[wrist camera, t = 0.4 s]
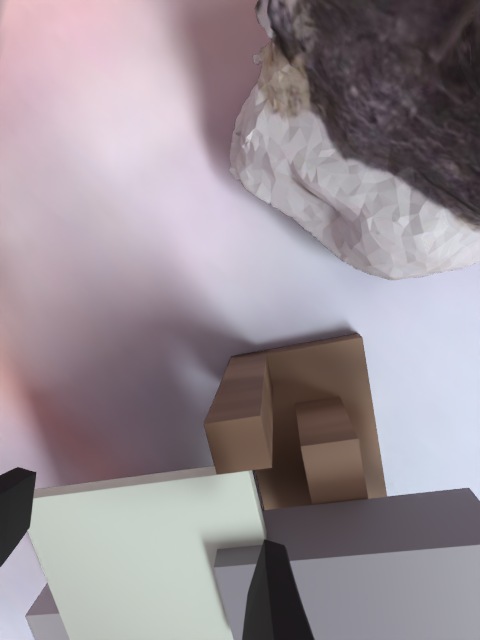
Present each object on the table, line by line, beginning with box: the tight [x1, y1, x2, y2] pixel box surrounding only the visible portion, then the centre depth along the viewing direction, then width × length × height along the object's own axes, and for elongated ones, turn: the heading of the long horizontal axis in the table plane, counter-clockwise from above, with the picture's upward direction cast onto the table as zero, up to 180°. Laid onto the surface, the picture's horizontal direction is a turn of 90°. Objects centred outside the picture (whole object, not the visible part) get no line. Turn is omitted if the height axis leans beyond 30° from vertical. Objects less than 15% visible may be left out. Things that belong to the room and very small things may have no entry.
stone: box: [229, 0, 480, 280], centre depth 11 cm, size 14×10×15 cm
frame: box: [204, 333, 387, 510], centre depth 16 cm, size 16×7×8 cm, turn 12°
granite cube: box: [25, 583, 70, 640], centre depth 20 cm, size 4×4×5 cm
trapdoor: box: [27, 466, 480, 640], centre depth 14 cm, size 11×18×3 cm, turn 102°
